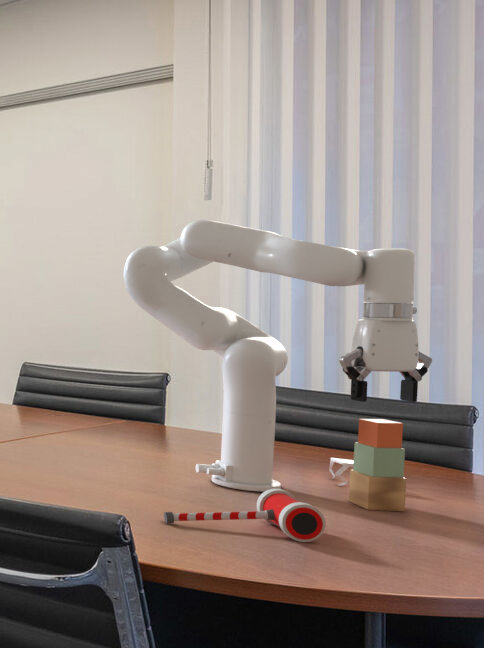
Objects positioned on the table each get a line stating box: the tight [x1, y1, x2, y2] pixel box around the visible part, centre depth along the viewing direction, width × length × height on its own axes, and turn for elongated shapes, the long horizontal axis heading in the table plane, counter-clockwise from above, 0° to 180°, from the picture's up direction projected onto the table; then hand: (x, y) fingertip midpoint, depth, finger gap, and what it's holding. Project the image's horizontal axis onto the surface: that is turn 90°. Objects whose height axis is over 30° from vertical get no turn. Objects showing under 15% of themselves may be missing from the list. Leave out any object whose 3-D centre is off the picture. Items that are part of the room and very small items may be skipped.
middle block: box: [352, 441, 406, 478], centre depth 164 cm, size 6×6×6 cm
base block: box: [348, 469, 407, 512], centre depth 165 cm, size 6×6×6 cm
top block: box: [357, 418, 404, 448], centre depth 164 cm, size 5×5×5 cm
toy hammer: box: [163, 488, 327, 543], centre depth 148 cm, size 23×12×6 cm, turn 76°
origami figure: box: [328, 457, 354, 487], centre depth 181 cm, size 12×8×5 cm
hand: (383, 400), depth 163 cm, fingers open, 9 cm apart
